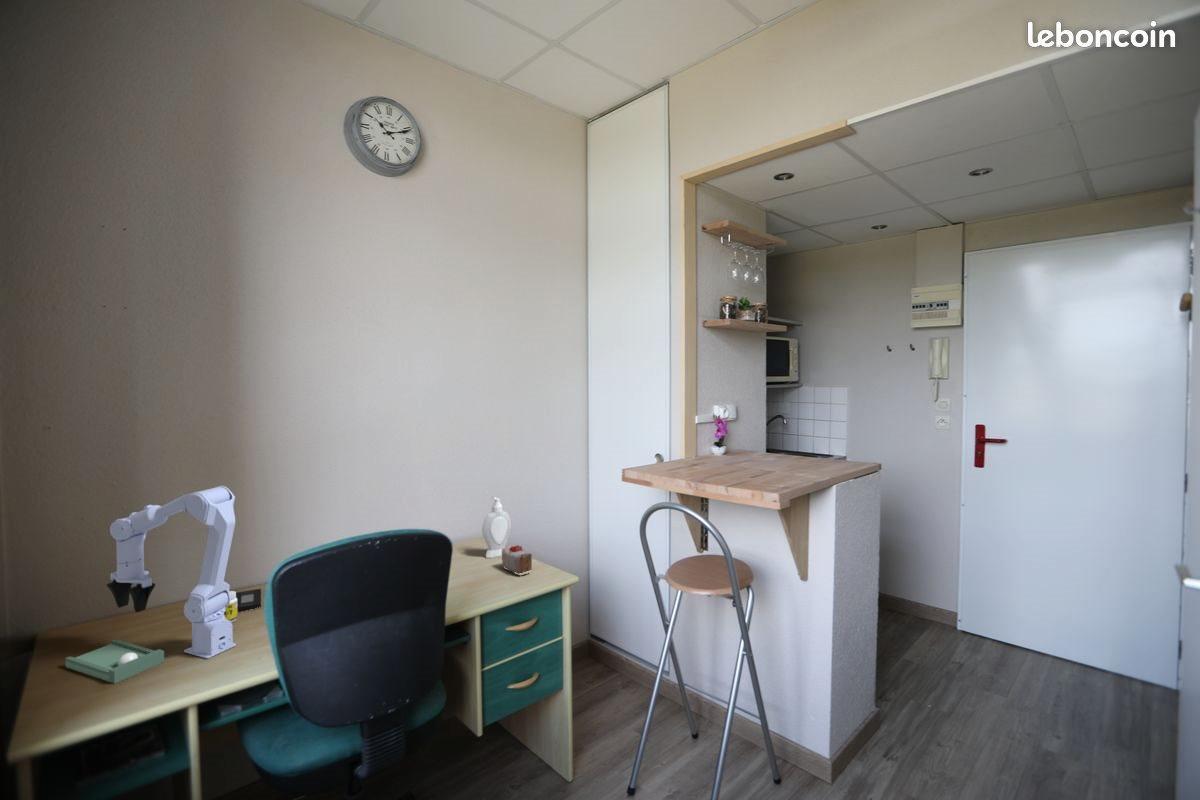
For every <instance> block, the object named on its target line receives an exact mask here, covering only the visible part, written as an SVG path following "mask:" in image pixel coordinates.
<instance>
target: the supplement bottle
mask: <svg viewBox="0 0 1200 800" xmlns="http://www.w3.org/2000/svg"><path fill="white" fill-rule="evenodd" d="M229 593H230V597H231V600H230V603H229V605H228V606H227V607H226V611H225V612H224V616H225V618H226V619H227V620H229V621H230V622H231V623H233V622H235V621H237V620H238V612H237V598H236V593H237V592H236V591H234V590H229Z"/></svg>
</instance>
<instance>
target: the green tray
mask: <svg viewBox="0 0 1200 800" xmlns="http://www.w3.org/2000/svg"><path fill="white" fill-rule="evenodd" d="M130 652H132V653H135V654H137V656H138V658H137V659H134V660H132V661H129V662H127V663H125V664H122V665H120V666H118V660H119V659H120V657H121V656H122V655H124V654H126V653H130ZM163 663H165V650H162V649H156V650H154V649H151V648H148V647H145V646H142V645H141V646H140V645H138V644H133V643H131V642H127V641H124V640H120V639H116V638H115V639H113V640H111V643H110V644H107V645H105V646H102V647H99V648H97V649H94V650H92V651H89V652H86V653H84V654H81V655H79V656H76V657H74V656H67V657H65V668H67V669H71V670H74V671H75V672H79V673H82V674H85V675H88V676H90V677H94V678H96V679H100V680H103V681H106V682H108V683H112V684H117V683H119V682H121V681H123V680H126V679H128V678H130V677H133V676H136V675H138V674H140V673H142V672H144V671H146V670H149V669H152V668H153V667H156V666H159V665H160V664H163Z"/></svg>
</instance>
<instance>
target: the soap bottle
mask: <svg viewBox="0 0 1200 800" xmlns="http://www.w3.org/2000/svg"><path fill="white" fill-rule="evenodd" d="M491 498H492V499H494V500H493V501H494V502H493V505H491V511H490V512H489V513H487V514H486V516H485V518H483V519H484V520H483V523H482V526H481V527H482V529H481V532H482V536H483V539H484V542H485V544H486V546H487V548H488V549H487V550H486V553H485V556H487V557H494V556H500V555H502V549H503V548H505V547H507V543H508V540H509V537H510V534H511V531H512V520H511V516H510V514H509V513H508V512H507V511H505V510H503V505H502V503H501V498H498V497H495V496H492V497H491Z"/></svg>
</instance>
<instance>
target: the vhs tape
mask: <svg viewBox="0 0 1200 800" xmlns="http://www.w3.org/2000/svg"><path fill="white" fill-rule="evenodd" d="M236 598H237V613H241V612H242V611H243V612H247V611H246V610H248V611H251V610H250V609H254V610H256V609H255V608H257V607H258V608H259V607H261V608H262V589H261V588H259V589H257V588H256V589H252V590H245V591H238V592H236Z"/></svg>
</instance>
